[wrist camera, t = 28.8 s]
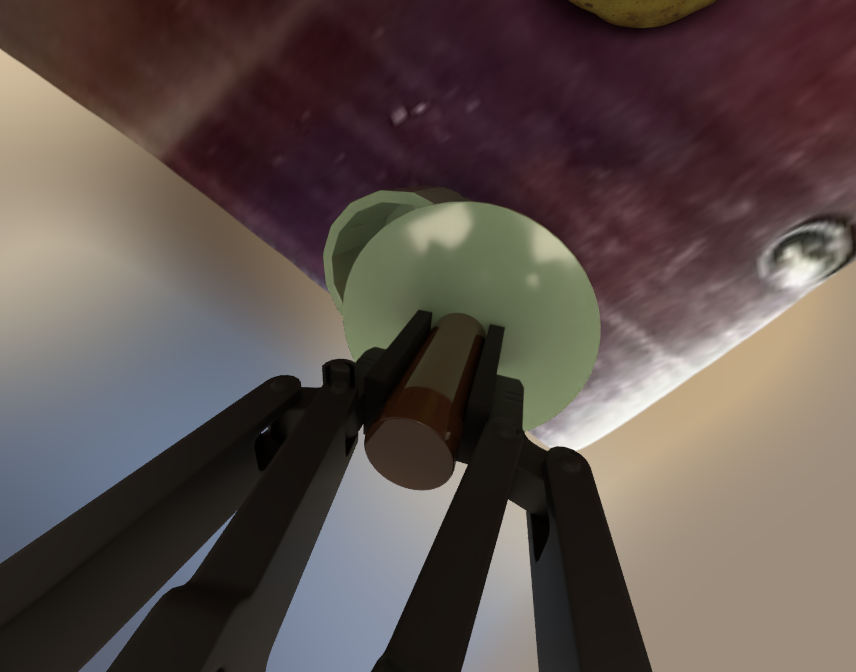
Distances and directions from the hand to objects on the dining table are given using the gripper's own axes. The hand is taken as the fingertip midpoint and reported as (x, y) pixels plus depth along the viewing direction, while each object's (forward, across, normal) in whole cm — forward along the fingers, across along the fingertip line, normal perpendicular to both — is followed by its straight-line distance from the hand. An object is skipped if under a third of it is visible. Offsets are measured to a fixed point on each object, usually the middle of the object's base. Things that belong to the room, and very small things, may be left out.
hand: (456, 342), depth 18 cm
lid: (+1, 0, 0) cm, 1 cm away
